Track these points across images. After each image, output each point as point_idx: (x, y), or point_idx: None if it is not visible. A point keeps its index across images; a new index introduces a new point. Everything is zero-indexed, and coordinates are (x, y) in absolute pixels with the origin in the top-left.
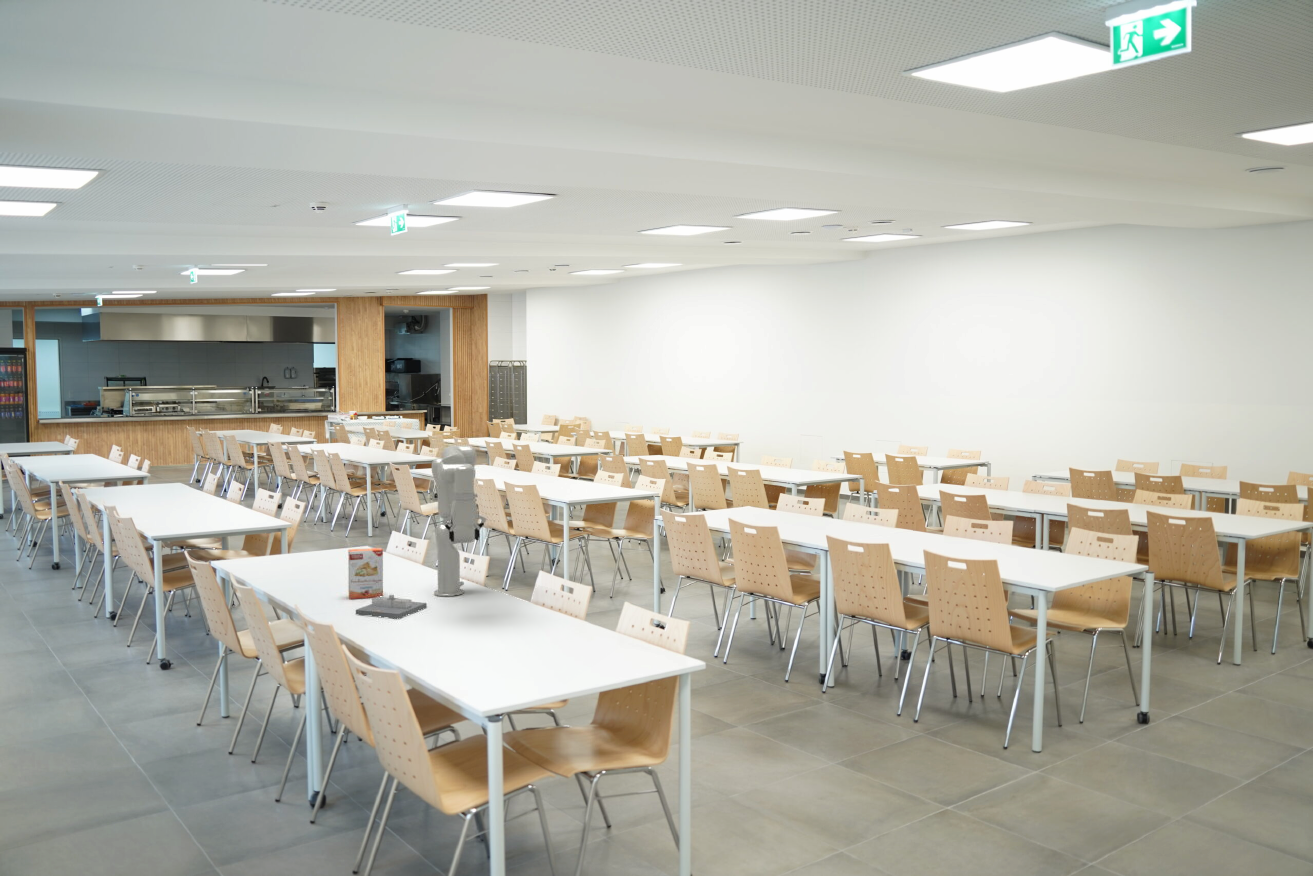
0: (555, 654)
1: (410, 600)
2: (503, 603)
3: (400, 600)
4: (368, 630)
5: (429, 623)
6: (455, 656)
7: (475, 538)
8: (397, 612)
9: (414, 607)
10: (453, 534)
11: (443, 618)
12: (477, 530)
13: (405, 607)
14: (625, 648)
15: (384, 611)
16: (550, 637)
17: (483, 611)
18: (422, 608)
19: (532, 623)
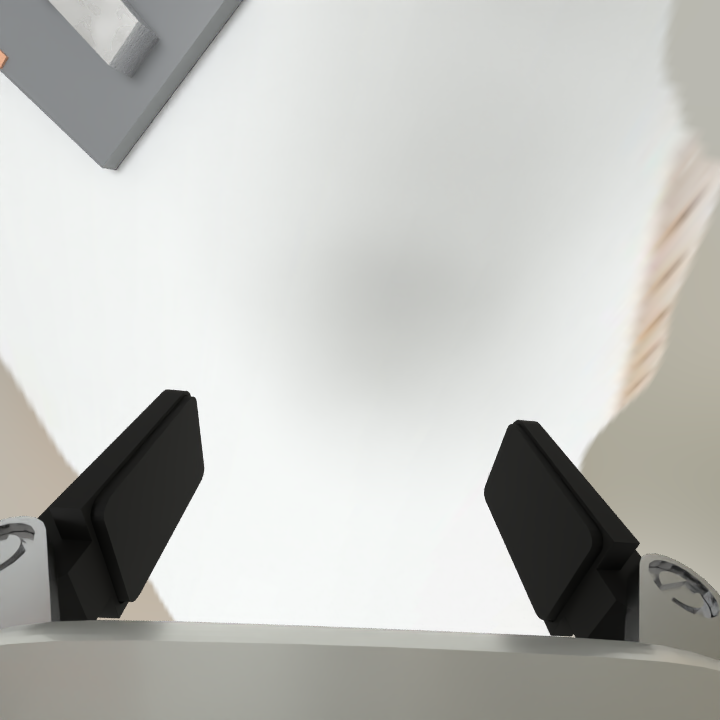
0: (402, 599)
1: (134, 29)
2: (581, 108)
3: (77, 12)
4: (18, 284)
5: (222, 291)
6: (236, 555)
7: (501, 463)
8: (94, 134)
9: (173, 65)
10: (148, 563)
11: (279, 246)
12: (558, 630)
13: (125, 74)
14: (519, 611)
15: (30, 77)
16: (453, 526)
17: (443, 213)
18: (223, 20)
19: (488, 422)
